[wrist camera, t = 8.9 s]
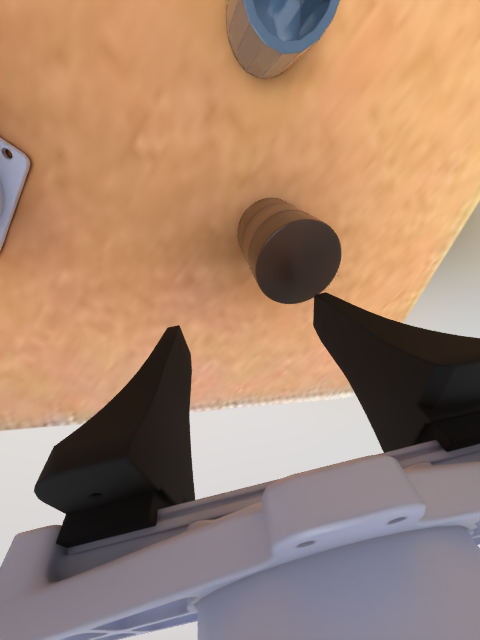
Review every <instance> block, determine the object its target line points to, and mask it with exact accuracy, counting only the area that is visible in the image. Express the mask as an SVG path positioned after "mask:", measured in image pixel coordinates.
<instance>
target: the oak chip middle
mask: <svg viewBox="0 0 480 640" xmlns="http://www.w3.org/2000/svg"><path fill="white" fill-rule="evenodd" d="M291 210H295V211H301V212H304V211H302V210H300V209H298V208H296V207H294V206H292V205H289V204H283V203H279V204H272V205H269V206H267V207H265V208H263V209H261V210H260V211H258V212H257V213H256V214H255V215H254V216H253V217H252V218H251V220H250V221H249V223H248V225H247V226H246V229H245V231H244V235H243V241H242V246H243V252H244V255H245V258H246V260H247V262H248V264H249V261H248V251H249V246H250V242H251V240H252V237H253V235H254V234H255V232H256V230H257V229H258V228H259V227H260V226H261V224H262V223H263V222H265V221H266V220H267V219H268V218H270V217H271V216H273V215H275V214H277V213H280V212H284V211H291ZM304 213H306V212H304ZM307 214H308V213H307Z"/></svg>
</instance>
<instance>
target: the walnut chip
mask: <svg viewBox="0 0 480 640" xmlns="http://www.w3.org/2000/svg"><path fill="white" fill-rule="evenodd" d="M248 261H249V266H250V269H251V271H252V273H253V275H254V277H255V279H256V281H257V283H258V285H259V287H260V289H261V290H262V292H263V293H264V294H265V295H266V296H267V297H269V298H270V299H272V300H274V301H276V302H279V303H284V304H296V303H301V302H304V301H307V300H309V299H311V298H313V297H314V295H317V294H319V293H321V292H322V291H323V290H324V289H325V288H326V287H327V286H328V285H329V284H330V282H331V281H332V280H333V278H334V277H335V275H336V273H337V271H338V268H339V265H340V261H341V245H340V241H339V238H338V236H337V234H336V233H335V232H334V230H333V229H332V228H331V227H330V226H328V225H327V224H325V223H324V222H322V221H320V220H318V219H316V218H314V217H313V216H311V215H309V214H307V213H304V212H301V211H295V210H291V211H284V212H280V213H277V214H275V215H273V216H271V217H270V218H268V219H267V220H266V221H265V222H263V223H262V224H261V226H260V227H259V228H258V229H257V230H256V232H255V234H254V235H253V237H252V240H251V242H250V246H249V251H248Z"/></svg>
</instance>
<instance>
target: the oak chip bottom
mask: <svg viewBox="0 0 480 640" xmlns="http://www.w3.org/2000/svg"><path fill="white" fill-rule="evenodd" d="M279 203H283V204H289V203H287V202H285V201H283V200H281V199H277V198H267V199H262V200H260V201H258V202H256V203H254V204H253V205H251V206H250V207H249V208H248V209H247V210H246V212H245V213H244V214H243V216H242V218H241V220H240V223H239V226H238V242H239V245H240V247H241V250H242V252H243V246H242V241H243V235H244V231H245V229H246V226H247V225H248V223H249V221H250V220H251V218H252V217H253V216H254V215H255V214H256V213H257V212H258V211H260V210H261V209H263V208H265V207H267V206H269V205H272V204H279ZM289 205H291V204H289ZM292 206H293V205H292ZM294 207H295V206H294ZM243 254H244V252H243ZM244 256H245V255H244Z"/></svg>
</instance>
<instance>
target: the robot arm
mask: <svg viewBox="0 0 480 640" xmlns="http://www.w3.org/2000/svg"><path fill="white" fill-rule="evenodd" d="M6 149H8V150H9V151H10V152H11V153H12V158H9V157H8V156H7V154H6ZM29 168H30V160H29V158H28V157H27V156H26V155H25V154H24V153H23V152H22V151H20V150H19V149H17V148H16V147H14V146H13V145H11V144H10V143H8V142H7V141H5V140H4V139H2V138H1V137H0V251H1V248H2V245H3V243H4V240H5V237H6V234H7V231H8V228H9V225H10V223H11V220H12V217H13V214H14V211H15V208H16V205H17V202H18V200H19V197H20V194H21V191H22V188H23V185H24V182H25V180H26V177H27V174H28V171H29ZM313 326H314V328H315V330H316V332H317V334H318V336H319V338H320V340H321V342H322V343H323V345H324V346H325V347H326V349H327V350H328V352H329V353H330V355H331V356H332V357H333V359H334V360H335V362H336V363H337V365H338V366H339V367H340V369H341V370H342V372H343V373H344V375H345V376H346V378H347V379H348V381H349V383H350V385H351V387H352V388H353V390H354V392H355V394H356V396H357V398H358V400H359V402H360V404H361V405H362V407H363V409H364V411H365V413H366V415H367V417H368V419H369V421H370V423H371V426H372V428H373V429H374V432H375V434H376V436H377V438H378V440H379V443H380V445H381V447H382V450H383V452H384V453H382V454H378V455H371V456H366V457H361V458H357V459H353V460H349V461H345V462H341V463H337V464H333V465H330V466H326V467H321V468H318V469H313V470H310V471H306V472H301V473H297V474H294V475H290V476H287V477H285V478H282V479H278V480H274V481H270V482H266V483H262V484H258V485H254V486H250V487H246V488H242V489H238V490H234V491H230V492H227V493H222V494H218V495H214V496H210V497H206V498H202V499H199V500H195V493H194V483H193V471H192V458H191V443H190V424H189V408H190V392H191V375H192V367H191V354H190V351H189V349H188V346H187V344H186V341H185V339H184V336H183V333H182V331H181V328H180V326H179V325H178V326H174V327H169V328H167V330H166V331H165V333H164V334H163V336H162V337H161V339H160V341H159V342H158V344H157V345H156V347H155V348H154V350H153V351H152V353H151V354H150V356H149V357H148V359H147V360H146V361H145V363H144V364H143V365H142V367H141V368H140V370H139V371H138V372H137V373H136V375H135V376H134V377H133V378H132V379H131V380H130V381H129V383H128V384H127V385H126V386H125V387H124V388H123V389H122V390H121V391H120V392H119V393H118V394H117V395H116V396H115V397H114V398H113V399H112V400H111V401H110V402H109V403H108V404H107V405H106V406H105V407H104V408H102V409H101V410H100V411H99V412H98V413H97V414H96V415H94V416H93V417H92V418H91V419H90V420H88V421H87V422H86V423H85V424H83V425H82V426H81V427H80V428H78V429H77V430H76V431H74V432H73V433H72V434H70V435H69V436H68V437H66V438H65V439H64V440H62V441H61V442H60V443H58V444H57V445H56V446H54V448H53V450H52V451H51V454H50V456H49V458H48V460H47V462H46V464H45V466H44V468H43V470H42V472H41V474H40V477H39V479H38V481H37V483H36V485H35V489H34V492H35V494H36V496H37V497H38V499H40V500H41V501H42V502H44V503H46V504H48V505H50V506H52V507H54V508H56V509H58V510H59V511H61V512H63V513H65V514H66V516H65V519H64V521H63V525H62V526H61V525H51V526H46V527H42V528H38V529H34V530H30V531H26V532H22V533H19V534H17V535H16V536H15V537H14V540H13V542H12V544H11V546H10V548H9V550H8V552H7V554H6V557H5V559H4V561H3V563H2V565H1V567H0V640H118V639H123V638H127V637H131V636H136V635H140V634H144V633H148V632H153V631H157V630H161V629H166V628H170V627H174V626H179V625H183V624H187V623H192V622H196V621H198V640H480V548H479V547H478V546H477V545H478V544H480V338H473V337H465V336H458V335H452V334H446V333H441V332H436V331H431V330H427V329H423V328H418V327H414V326H410V325H407V324H403V323H400V322H397V321H393V320H390V319H387V318H384V317H382V316H379V315H376V314H374V313H371V312H369V311H366V310H364V309H361V308H359V307H357V306H355V305H352V304H350V303H348V302H346V301H344V300H342V299H340V298H337V297H335V296H333V295H331V294H328V293H326V292H325V293H321V294H317V295H314V320H313Z"/></svg>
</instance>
